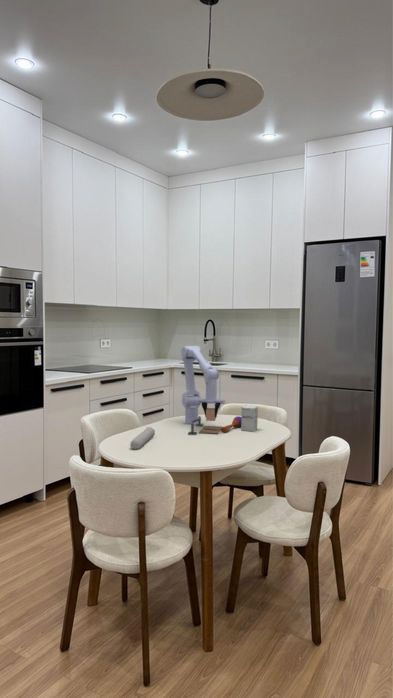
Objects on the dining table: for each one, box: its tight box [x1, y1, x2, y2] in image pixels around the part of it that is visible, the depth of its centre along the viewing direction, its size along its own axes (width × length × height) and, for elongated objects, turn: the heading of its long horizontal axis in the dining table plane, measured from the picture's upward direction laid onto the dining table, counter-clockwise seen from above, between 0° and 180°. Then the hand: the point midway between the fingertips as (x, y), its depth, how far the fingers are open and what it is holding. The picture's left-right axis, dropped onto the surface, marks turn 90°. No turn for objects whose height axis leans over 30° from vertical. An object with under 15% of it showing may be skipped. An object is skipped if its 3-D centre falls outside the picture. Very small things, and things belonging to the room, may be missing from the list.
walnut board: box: [198, 425, 223, 435], centre depth 253 cm, size 16×10×1 cm, turn 169°
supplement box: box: [240, 404, 259, 432], centre depth 254 cm, size 7×7×13 cm
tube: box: [130, 426, 156, 450], centre depth 226 cm, size 5×5×25 cm
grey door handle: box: [187, 415, 205, 436], centre depth 254 cm, size 24×4×5 cm, turn 169°
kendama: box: [220, 415, 241, 434], centre depth 256 cm, size 6×6×20 cm
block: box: [205, 407, 217, 422], centre depth 252 cm, size 4×4×6 cm
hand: (210, 416), depth 252 cm, fingers closed on block, 4 cm apart
